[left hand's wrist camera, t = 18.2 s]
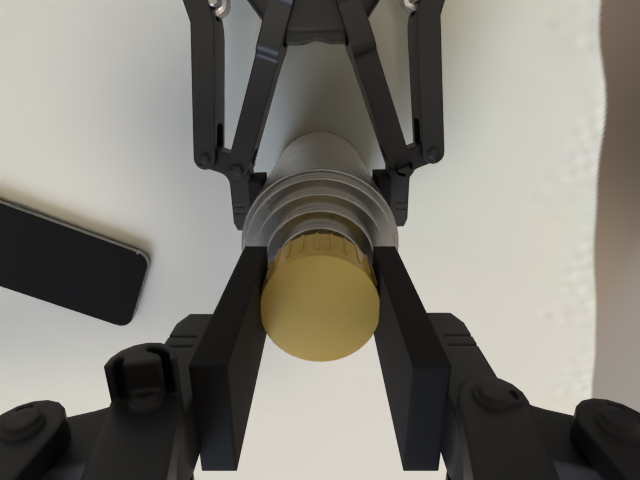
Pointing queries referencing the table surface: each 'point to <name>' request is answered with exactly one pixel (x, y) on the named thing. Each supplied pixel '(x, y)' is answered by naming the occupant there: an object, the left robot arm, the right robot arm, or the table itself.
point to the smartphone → (69, 266)
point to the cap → (320, 298)
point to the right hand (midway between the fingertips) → (322, 273)
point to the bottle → (320, 198)
